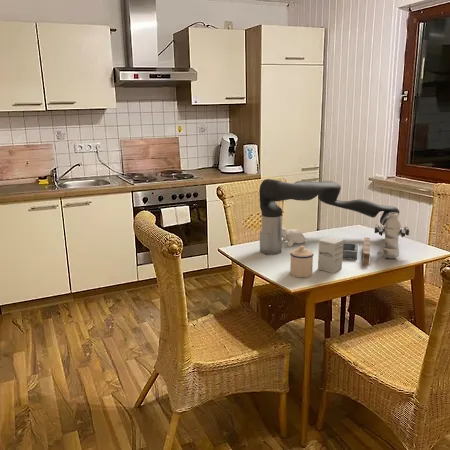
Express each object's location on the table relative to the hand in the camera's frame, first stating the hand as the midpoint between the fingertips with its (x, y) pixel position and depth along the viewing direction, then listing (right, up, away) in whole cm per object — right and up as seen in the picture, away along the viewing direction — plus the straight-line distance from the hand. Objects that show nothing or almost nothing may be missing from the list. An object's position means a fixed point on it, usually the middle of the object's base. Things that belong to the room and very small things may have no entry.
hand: (392, 234), depth 193 cm
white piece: (-40, -5, +26) cm, 48 cm away
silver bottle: (0, -11, +4) cm, 11 cm away
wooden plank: (-9, -10, +7) cm, 15 cm away
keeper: (-19, -9, +10) cm, 23 cm away
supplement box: (-29, -14, -9) cm, 33 cm away
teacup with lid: (-42, -15, -12) cm, 46 cm away
